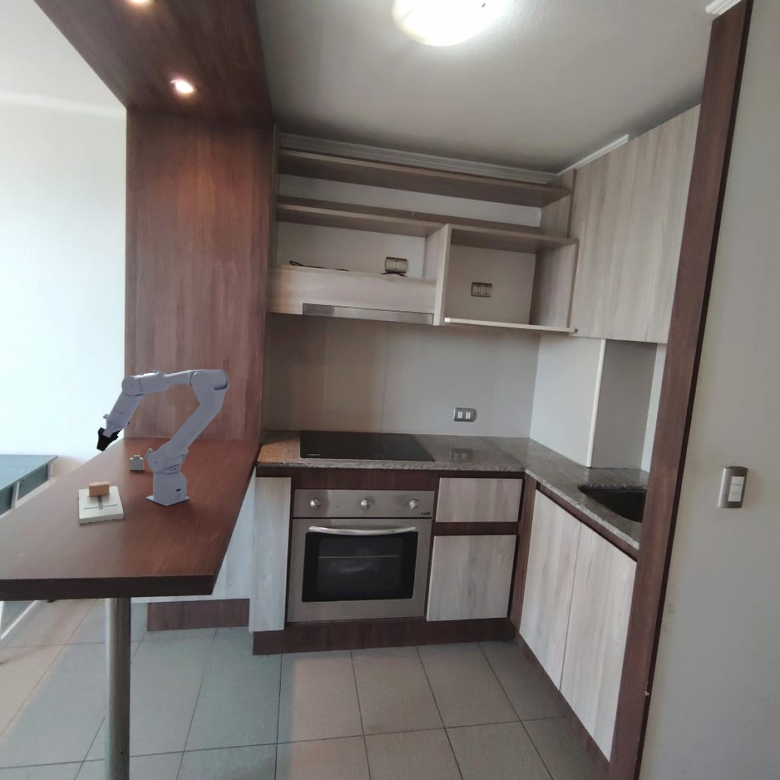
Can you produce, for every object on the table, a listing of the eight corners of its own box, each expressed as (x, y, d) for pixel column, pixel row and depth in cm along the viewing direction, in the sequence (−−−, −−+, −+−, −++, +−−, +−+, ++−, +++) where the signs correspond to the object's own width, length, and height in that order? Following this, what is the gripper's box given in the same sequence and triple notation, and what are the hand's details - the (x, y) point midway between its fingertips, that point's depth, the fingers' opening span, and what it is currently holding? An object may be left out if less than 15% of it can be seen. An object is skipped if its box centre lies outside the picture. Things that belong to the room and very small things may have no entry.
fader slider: (88, 492, 141) (88, 482, 141) (108, 490, 144) (108, 481, 144) (89, 496, 139) (89, 486, 139) (109, 494, 142) (109, 484, 141)
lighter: (129, 470, 170) (129, 448, 169) (130, 469, 171) (131, 447, 170) (151, 470, 172) (151, 448, 171) (152, 469, 173) (153, 447, 172)
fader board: (78, 494, 145) (78, 489, 145) (116, 490, 150) (117, 485, 150) (79, 524, 125) (79, 518, 125) (123, 518, 130) (123, 512, 130)
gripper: (119, 394, 153) (101, 427, 156) (101, 412, 139) (81, 449, 142) (141, 404, 155) (123, 437, 158) (125, 423, 142) (105, 459, 145)
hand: (105, 443), depth 150 cm, fingers open, 7 cm apart
